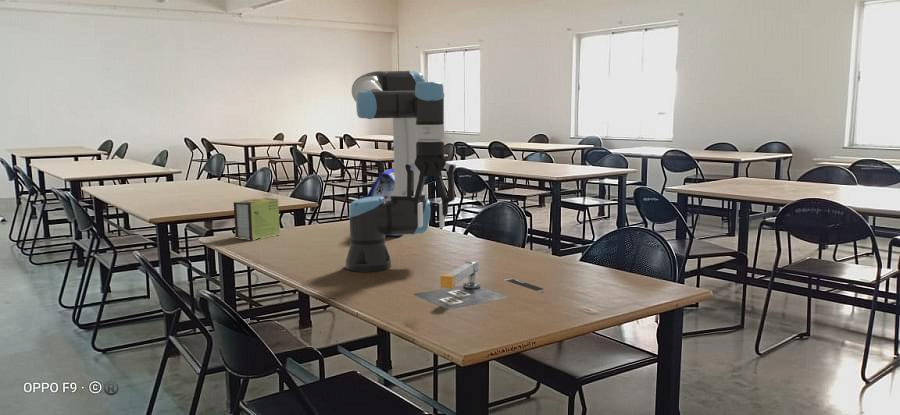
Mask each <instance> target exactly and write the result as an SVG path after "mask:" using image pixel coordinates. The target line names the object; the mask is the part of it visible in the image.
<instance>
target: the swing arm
mask: <svg viewBox="0 0 900 415" xmlns="http://www.w3.org/2000/svg"><path fill="white" fill-rule="evenodd" d="M474 272H475V273H476V272H477V273H478V272H480V262H479V261H478V260H477V261H476V260H466V261H465V262H464V263H463V264H462V265H460V266H458V267H457V268H455V269H454V270H452V271H450V272H448V273H447V274H446V273H445V274H444V273H442V274H441V275H440V289H445V288H449V289H452V288H454V287H456V284H458V283H460V282H461V281H463V280H464V279H467V277H468V278H469V275H471V274H472V273H474Z"/></svg>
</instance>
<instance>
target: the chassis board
mask: <svg viewBox="0 0 900 415" xmlns="http://www.w3.org/2000/svg"><path fill="white" fill-rule="evenodd" d="M455 290H461V291H463V292H466V293H469V294H471V296H466V297H460V298H458V297H456V296H454V295H451V294H449V293H447V292H450V291H455ZM412 295H413V296H416V297H418V298H421V299H423V300H425V301H427V302H430V303H432V304H433V305H437V306H439V307H441V308H444V309H446V310H452V309H457V308H463V307H467V306H471V305H479V304H483V303H487V302H488V303H489V302H493V301H498V300H503V299H509V298H510V297H509V296H507V295H505V294H501V293H498V292H495V291H492V290H490V289H488V288H486V287H485V288H484V287H482V284H481V283H479V282H476V272H474V273H472V274H471V275H469V276H468V281H467V282H463V285H457V286H456V285H455V287H454V288H452V289H449V288H440V289H434V290H427V291H422V292H417V293H413V294H412ZM448 297H452V298H455V299H457V300H460V301H462V302H463V303H461V304H456V305H448V304H446V303H444V302H441V301H439V299H443V298H448Z"/></svg>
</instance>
